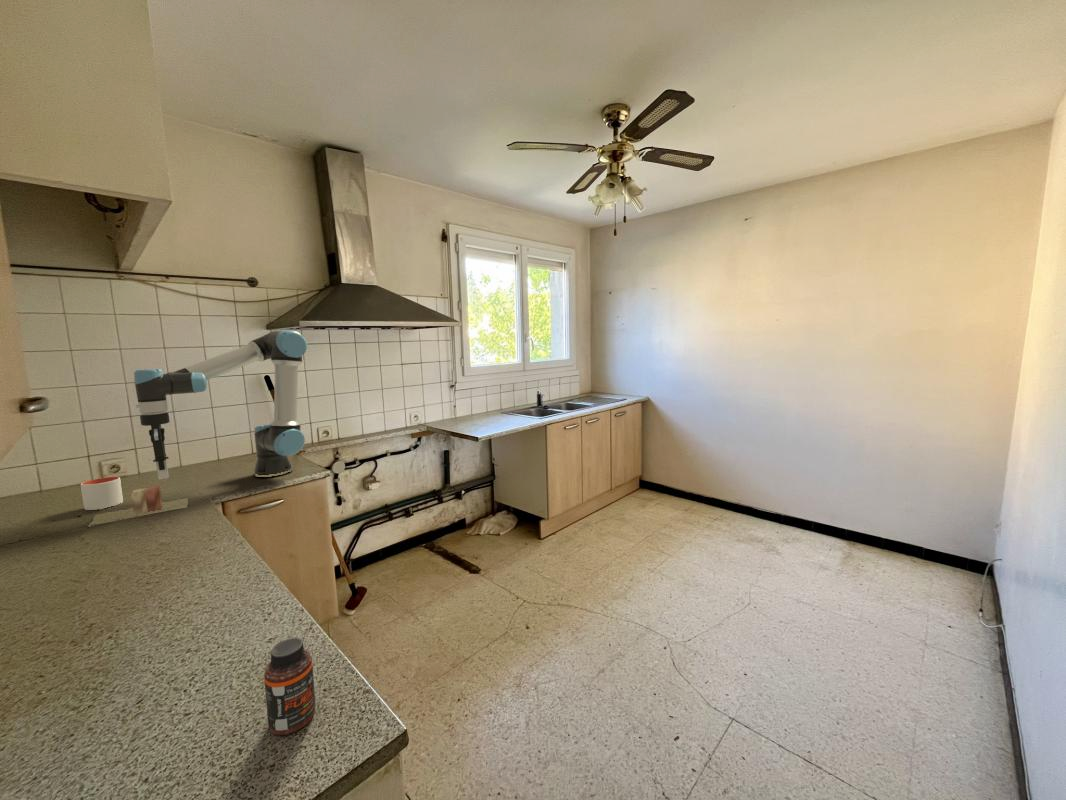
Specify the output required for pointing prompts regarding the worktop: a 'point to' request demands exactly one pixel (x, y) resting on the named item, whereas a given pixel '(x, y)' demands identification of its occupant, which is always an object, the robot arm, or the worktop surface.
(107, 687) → the worktop surface
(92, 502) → the cup
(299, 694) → the supplement bottle
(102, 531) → the worktop surface
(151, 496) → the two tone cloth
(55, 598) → the worktop surface
